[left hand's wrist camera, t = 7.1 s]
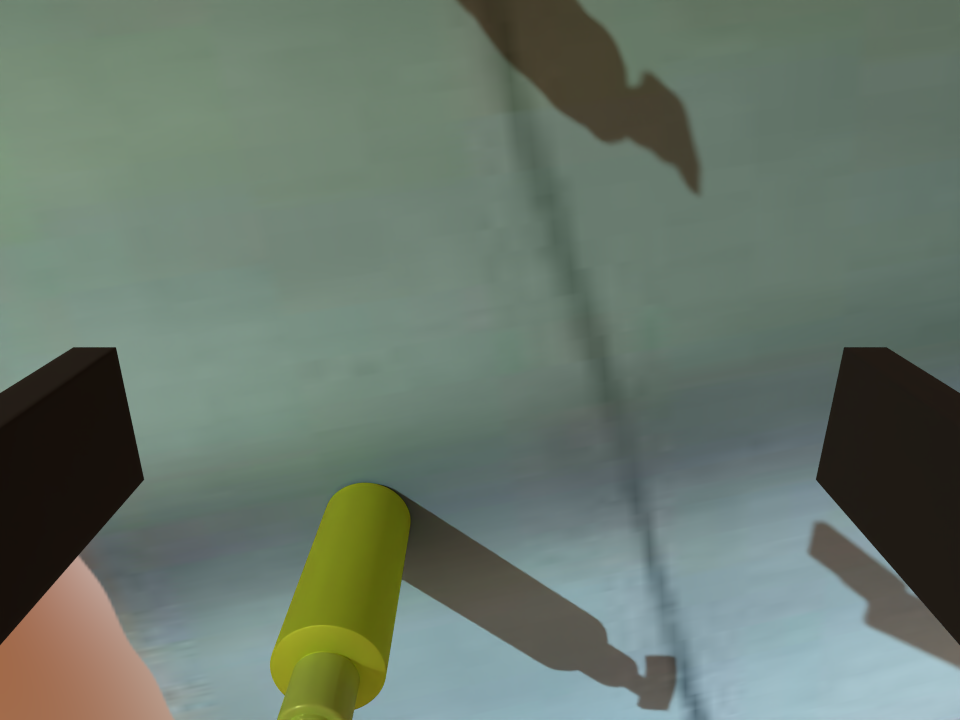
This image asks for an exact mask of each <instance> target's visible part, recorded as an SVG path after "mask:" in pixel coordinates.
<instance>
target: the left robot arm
mask: <svg viewBox="0 0 960 720" xmlns="http://www.w3.org/2000/svg"><path fill="white" fill-rule="evenodd" d="M143 480H144V477H143V472H142V468H141V463H140V458H139V454H138V449H137V444H136V440H135V435H134V430H133V425H132V421H131V416H130V411H129V407H128V402H127V397H126V393H125V388H124V383H123V379H122V374H121V369H120V364H119V360H118V355H117V350H116V347H73V348H72V349H70V350H69V351H67V352H65V353H64V354H62V355H61V356H59V357H57V358H56V359H54V360H53V361H51V362H49V363H48V364H46V365H45V366H43V367H41V368H40V369H38V370H37V371H35V372H33V373H32V374H30V375H29V376H27V377H25V378H24V379H22V380H21V381H19V382H17V383H16V384H14V385H13V386H11V387H9V388H8V389H6V390H5V391H3V392H1V393H0V645H1V643H2V642H3V641H4V640H5V639H6V638H7V637H8V635H9V634H10V633H11V632H12V631H13V630H14V629H15V627H16V626H17V625H18V624H19V623H20V622H21V621H22V619H23V618H24V617H25V616H26V615H27V614H28V612H29V611H30V610H31V609H32V608H33V607H34V606H35V604H36V603H37V602H38V601H39V600H40V599H41V598H42V596H43V595H44V594H45V593H46V592H47V591H48V590H49V588H50V587H51V586H52V585H53V584H54V583H55V581H56V580H57V579H58V578H59V577H60V576H61V575H62V573H63V572H64V571H65V570H66V569H67V568H68V567H69V565H70V564H71V563H72V562H73V561H74V560H75V558H76V557H77V556H78V555H79V554H80V553H81V552H82V550H83V549H84V548H85V547H86V546H87V545H88V544H89V542H90V541H91V540H92V539H93V538H94V537H95V535H96V534H97V533H98V532H99V531H100V530H101V529H102V527H103V526H104V525H105V524H106V523H107V522H108V521H109V519H110V518H111V517H112V516H113V515H114V514H115V512H116V511H117V510H118V509H119V508H120V507H121V506H122V504H123V503H124V502H125V501H126V500H127V499H128V498H129V496H130V495H131V494H132V493H133V492H134V491H135V489H136V488H137V487H138V486H139V485H140V484H141V483H142V481H143ZM816 480H817V481H818V483H819V484H820V485H821V486H822V487H823V488H824V489H825V491H826V492H827V493H828V494H829V495H830V496H831V498H832V499H833V500H834V501H835V502H836V503H837V504H838V506H839V507H840V508H841V509H842V510H843V511H844V512H845V514H846V515H847V516H848V517H849V518H850V519H851V521H852V522H853V523H854V524H855V525H856V526H857V527H858V529H859V530H860V531H861V532H862V533H863V534H864V535H865V537H866V538H867V539H868V540H869V541H870V542H871V544H872V545H873V546H874V547H875V548H876V549H877V550H878V552H879V553H880V554H881V555H882V556H883V557H884V558H885V560H886V561H887V562H888V563H889V564H890V565H891V567H892V568H893V569H894V570H895V571H896V572H897V573H898V575H899V576H900V577H901V578H902V579H903V580H904V581H905V583H906V584H907V585H908V586H909V587H910V588H911V590H912V591H913V592H914V593H915V594H916V595H917V596H918V598H919V599H920V600H921V601H922V602H923V603H924V604H925V606H926V607H927V608H928V609H929V610H930V611H931V613H932V614H933V615H934V616H935V617H936V618H937V619H938V621H939V622H940V623H941V624H942V625H943V626H944V627H945V629H946V630H947V631H948V632H949V633H950V634H951V636H952V637H953V638H954V639H955V640H956V641H957V642H958V644H959V645H960V393H959V392H957V391H955V390H954V389H952V388H951V387H949V386H947V385H946V384H944V383H943V382H941V381H939V380H938V379H936V378H935V377H933V376H931V375H930V374H928V373H927V372H925V371H923V370H922V369H920V368H919V367H917V366H915V365H914V364H912V363H911V362H909V361H907V360H906V359H904V358H903V357H901V356H899V355H898V354H896V353H895V352H893V351H891V350H890V349H888V348H887V347H844V350H843V355H842V360H841V364H840V369H839V374H838V379H837V383H836V388H835V393H834V397H833V402H832V407H831V411H830V416H829V421H828V425H827V430H826V435H825V440H824V444H823V449H822V454H821V458H820V463H819V468H818V472H817V477H816Z"/></svg>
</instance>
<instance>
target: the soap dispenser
mask: <svg viewBox="0 0 960 720" xmlns="http://www.w3.org/2000/svg"><path fill="white" fill-rule="evenodd" d="M410 523H411V520H410V513H409V510H408V508H407V506H406V504H405V502H404V501H403V500H402V498H401V497H400V496H399V495H397V494H396V493H395V492H394V491H392V490H390V489H389V488H387V487H384V486H382V485H378V484H374V483H357V484H352V485H349V486H347V487H345V488H343V489H341V490H339V491H338V492H337V493H336V494H335V495H334V496H333V497H332V498H331V499H330V501H329V503H328V505H327V507H326V510H325V512H324V515H323V518H322V521H321V523H320V526H319V529H318V531H317V534H316V537H315V539H314V542H313V545H312V547H311V550H310V553H309V556H308V558H307V561H306V564H305V566H304V569H303V572H302V574H301V577H300V580H299V583H298V585H297V588H296V591H295V593H294V596H293V599H292V601H291V604H290V607H289V609H288V612H287V615H286V618H285V620H284V623H283V626H282V628H281V631H280V634H279V636H278V639H277V642H276V645H275V647H274V650H273V653H272V656H271V660H270V670H271V675H272V678H273V680H274V682H275V684H276V686H277V687H278V689H279V690H280V691H281V692H282V693H283V694H284V695H285V697H284V700H283V703H282V706H281V709H280V712H279V715H278V718H277V720H352V718H353V713H354V710H355V709H358V708H360V707H362V706H364V705H366V704H368V703H369V702H370V701H372V700H373V699H374V698H375V697H376V696H377V695H378V694H379V692H380V691H381V689H382V687H383V685H384V682H385V679H386V673H387V667H388V661H389V654H390V648H391V642H392V636H393V630H394V623H395V617H396V611H397V605H398V599H399V592H400V586H401V580H402V574H403V568H404V561H405V555H406V549H407V543H408V537H409V530H410Z"/></svg>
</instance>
